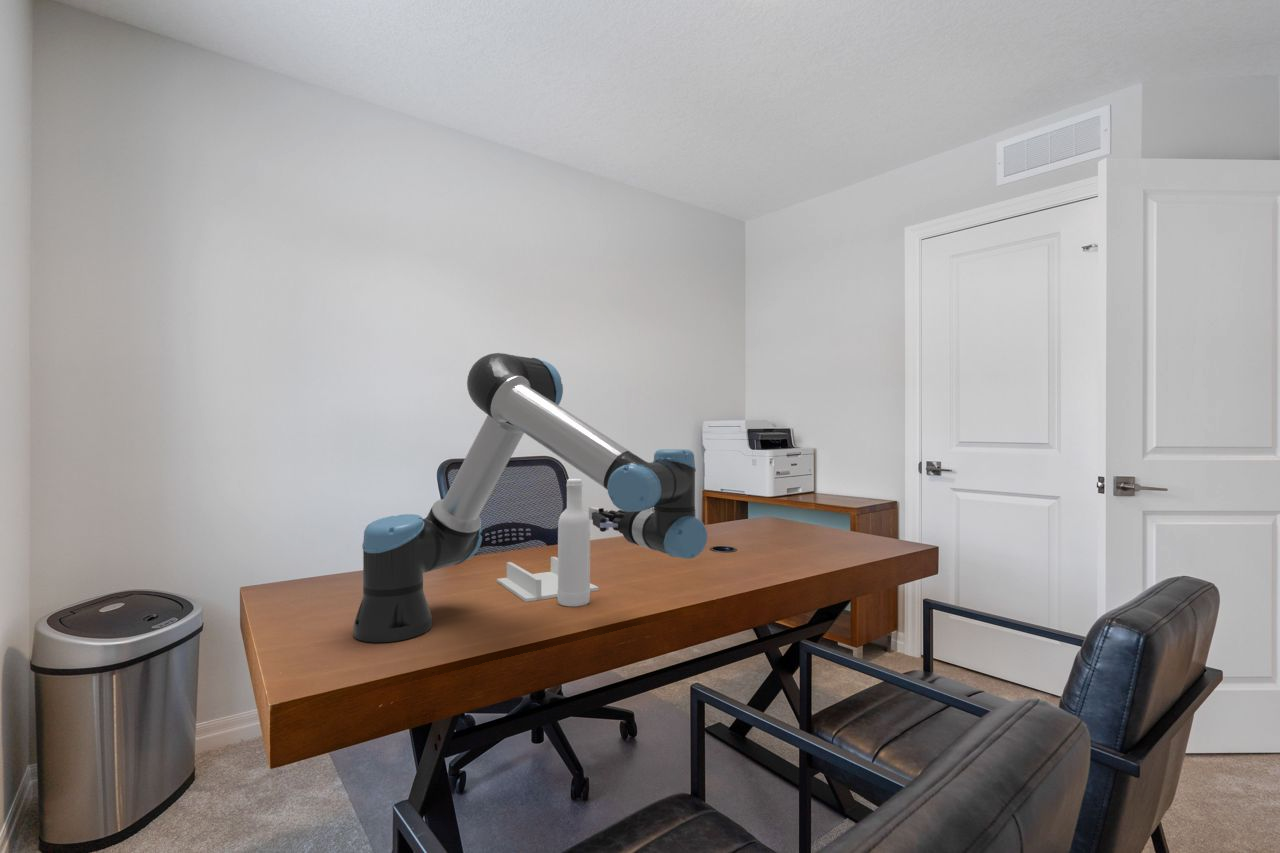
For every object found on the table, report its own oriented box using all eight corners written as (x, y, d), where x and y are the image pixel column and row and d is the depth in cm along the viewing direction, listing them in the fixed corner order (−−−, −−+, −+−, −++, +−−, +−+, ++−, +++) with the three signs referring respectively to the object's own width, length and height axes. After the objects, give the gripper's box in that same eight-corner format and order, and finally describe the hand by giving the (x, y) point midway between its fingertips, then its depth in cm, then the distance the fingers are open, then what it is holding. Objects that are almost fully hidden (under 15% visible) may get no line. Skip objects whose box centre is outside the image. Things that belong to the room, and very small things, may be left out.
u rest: (598, 590, 155) (598, 571, 155) (526, 602, 145) (526, 581, 145) (563, 572, 174) (563, 555, 174) (496, 581, 163) (496, 563, 163)
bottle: (588, 607, 141) (588, 480, 141) (555, 606, 141) (555, 480, 141) (591, 597, 149) (592, 477, 149) (560, 597, 149) (560, 477, 149)
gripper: (673, 505, 120) (616, 495, 140) (617, 510, 114) (565, 498, 134) (673, 542, 120) (616, 526, 140) (617, 550, 114) (565, 532, 134)
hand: (591, 513), depth 137 cm, fingers closed
